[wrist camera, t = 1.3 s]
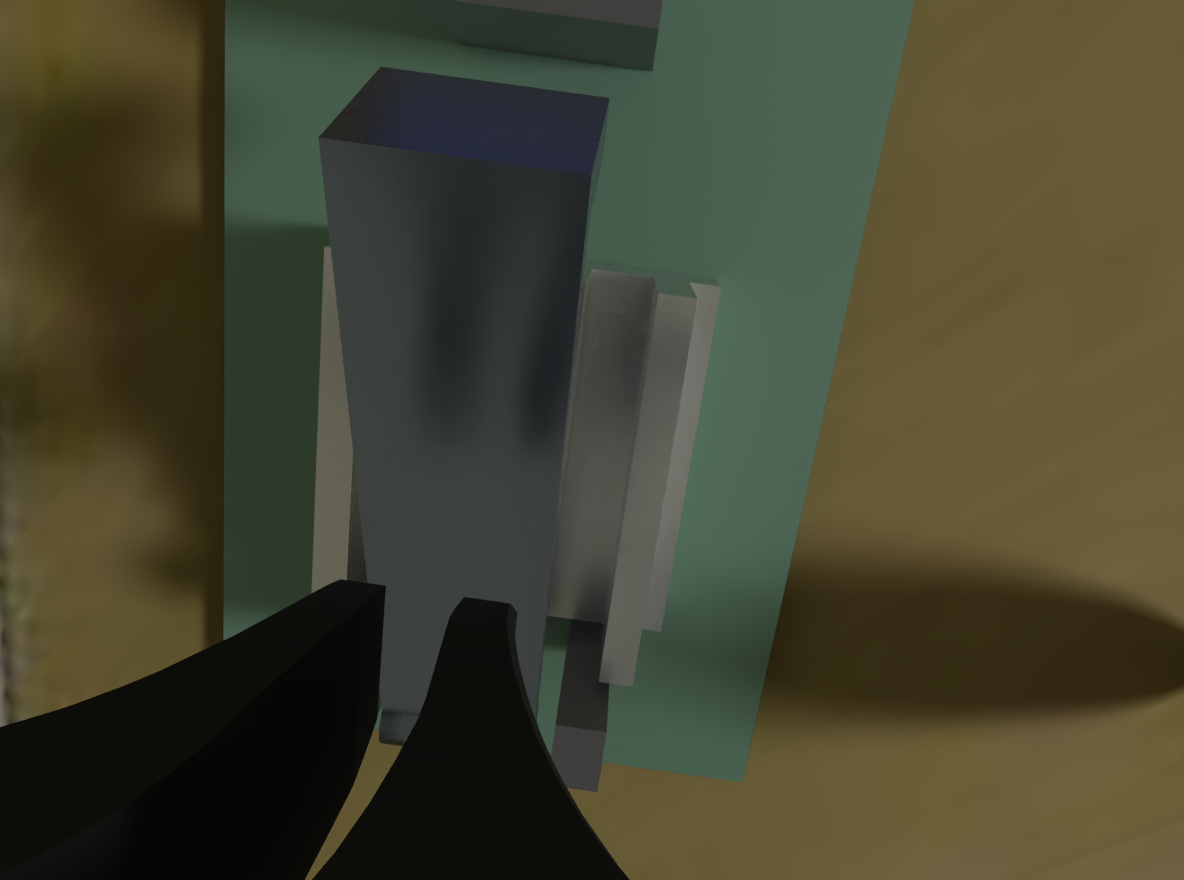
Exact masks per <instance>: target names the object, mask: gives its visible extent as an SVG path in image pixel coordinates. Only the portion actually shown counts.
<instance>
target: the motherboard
mask: <svg viewBox="0 0 1184 880" xmlns="http://www.w3.org/2000/svg"><path fill="white" fill-rule="evenodd" d="M914 1H915V0H663V2H662V9H661V16H660V23H659V30H658V37H657V44H656V51H655V58H654V65H653V71H647V70H639V69H632V68H625V67H617V66H610V65H603V64H596V63H588V62H581V61H574V60H566V59H559V58H552V57H544V56H537V55H530V54H522V53H515V52H508V51H500V50H493V49H486V48H478V47H471V46H464V45H461V44H460V43H458V42H457V41H455V40H454V39H453V38H451V37H450V36H448V35H447V34H446V33H444V32H443V31H441V30H440V29H439V28H437V27H436V26H435V25H433V24H432V23H430V22H429V21H428V20H426V19H425V18H423V17H422V16H421V15H419V14H418V13H416V12H415V11H414V10H412V9H411V8H410V7H408V6H407V5H405V4H404V3H403V2H401V1H400V0H225V211H224V624H223V641H224V640H226V639H228V638H230V637H232V636H234V635H236V634H238V633H239V632H241V631H243V630H245V629H247V628H249V627H251V626H253V625H254V624H256V623H258V622H260V621H262V620H264V619H266V618H267V617H269V616H271V615H273V614H275V613H277V612H279V611H280V610H282V609H284V608H286V607H288V606H290V605H291V604H293V603H295V602H297V601H299V600H300V599H302V598H304V597H306V596H308V595H309V594H311V593H312V567H313V539H314V512H315V485H316V458H317V430H318V403H319V376H320V348H321V321H322V294H323V267H324V247H326V246H330V238H329V229H328V220H327V211H326V202H325V193H324V184H323V175H322V166H321V157H320V148H319V139H318V137H319V136H320V135H321V134H322V133H323V132H324V131H325V129H326V128H327V127H328V126H329V125H330V124H331V123H332V121H333V120H334V119H335V118H336V117H337V116H338V115H339V114H340V112H341V111H342V110H343V109H344V108H345V107H346V106H347V104H348V103H349V102H350V101H351V100H352V99H353V98H354V96H355V95H356V94H357V93H358V92H359V91H360V90H361V89H362V87H363V86H364V85H365V84H366V83H367V82H368V81H369V79H370V78H371V77H372V76H373V75H374V74H375V73H376V71H377V70H378V69H379V68H380V67H387V68H395V69H402V70H409V71H417V72H424V73H431V74H439V75H446V76H453V77H460V78H468V79H475V80H482V81H490V82H497V83H504V84H512V85H519V86H526V87H534V88H541V89H548V90H555V91H563V92H570V93H577V94H585V95H592V96H599V97H607V98H610V101H609V110H608V119H607V128H606V137H605V146H604V155H603V161H602V165H601V170H600V174H599V179H598V183H597V188H596V192H595V197H594V201H593V206H592V210H591V215H590V221H589V231H588V240H587V249H586V259H585V260H592V261H599V262H607V263H614V264H621V265H628V266H636V267H643V268H650V269H657V270H664V271H672V272H679V273H686V274H693V275H700V276H708V277H715V278H716V280H717V281H718V283H719V284H720V285H721V292H720V298H719V303H718V309H717V315H716V321H715V326H714V332H713V338H712V343H711V349H710V355H709V360H708V366H707V372H706V378H705V383H704V389H703V395H702V400H701V406H700V412H699V417H698V423H697V429H696V435H695V440H694V446H693V452H692V457H691V463H690V469H689V474H688V480H687V486H686V492H685V497H684V503H683V509H682V514H681V520H680V526H679V531H678V537H677V543H676V549H675V554H674V560H673V566H672V571H671V577H670V583H669V588H668V594H667V600H666V606H665V611H664V617H663V623H662V628H661V632H659V631H652V630H645V629H642V633H641V639H640V645H639V651H638V657H637V663H636V669H635V675H634V680H633V686H632V687H631V686H624V685H617V684H610V683H609V700H608V718H607V733H606V740H605V746H604V752H603V758H602V762H605V763H612V764H619V765H626V766H633V767H640V768H647V769H654V770H661V771H668V772H675V773H682V774H689V775H695V776H702V777H709V778H716V779H723V780H730V781H737V782H742V781H743V776H744V772H745V767H746V763H747V758H748V753H749V749H750V744H751V740H752V735H753V731H754V726H755V722H756V717H757V713H758V708H759V704H760V699H761V695H762V690H763V685H764V681H765V676H766V672H767V667H768V663H769V658H770V654H771V649H772V645H773V640H774V636H775V631H776V627H777V622H778V618H779V613H780V608H781V604H782V599H783V595H784V590H785V586H786V581H787V577H788V572H789V568H790V563H791V559H792V554H793V550H794V545H795V540H796V536H797V531H798V527H799V522H800V518H801V513H802V509H803V504H804V500H805V495H806V491H807V486H808V482H809V477H810V472H811V468H812V463H813V459H814V454H815V450H816V445H817V441H818V436H819V432H820V427H821V423H822V418H823V414H824V409H825V404H826V400H827V395H828V391H829V386H830V382H831V377H832V373H833V368H834V364H835V359H836V355H837V350H838V346H839V341H840V337H841V332H842V327H843V323H844V318H845V314H846V309H847V305H848V300H849V296H850V291H851V287H852V282H853V278H854V273H855V269H856V264H857V259H858V255H859V250H860V246H861V241H862V237H863V232H864V228H865V223H866V219H867V214H868V210H869V205H870V201H871V196H872V191H873V187H874V182H875V178H876V173H877V169H878V164H879V160H880V155H881V151H882V146H883V142H884V137H885V133H886V128H887V124H888V119H889V114H890V110H891V105H892V101H893V96H894V92H895V87H896V83H897V78H898V74H899V69H900V65H901V60H902V56H903V51H904V46H905V42H906V37H907V33H908V28H909V24H910V19H911V15H912V10H913V6H914ZM570 623H571V619H568V618H561V617H554V616H547V626H546V635H545V644H544V654H543V663H542V673H541V682H540V691H539V701H538V702H539V708H538V716H537V725H538V727H539V730H540V733H541V735H542V738H543V740H544V742H545V745H546V747H547V749H548V752H549V754H550V755H551V753H552V746H553V738H554V731H555V724H556V717H557V711H558V704H559V697H560V690H561V684H562V677H563V670H564V664H565V657H566V650H567V644H568V637H569V630H570ZM381 713H382V708H381V709H380V711H379V713H378V715H377V721H376V724H375V727H374V729H377V730H379V726H380V719H381Z"/></svg>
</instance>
